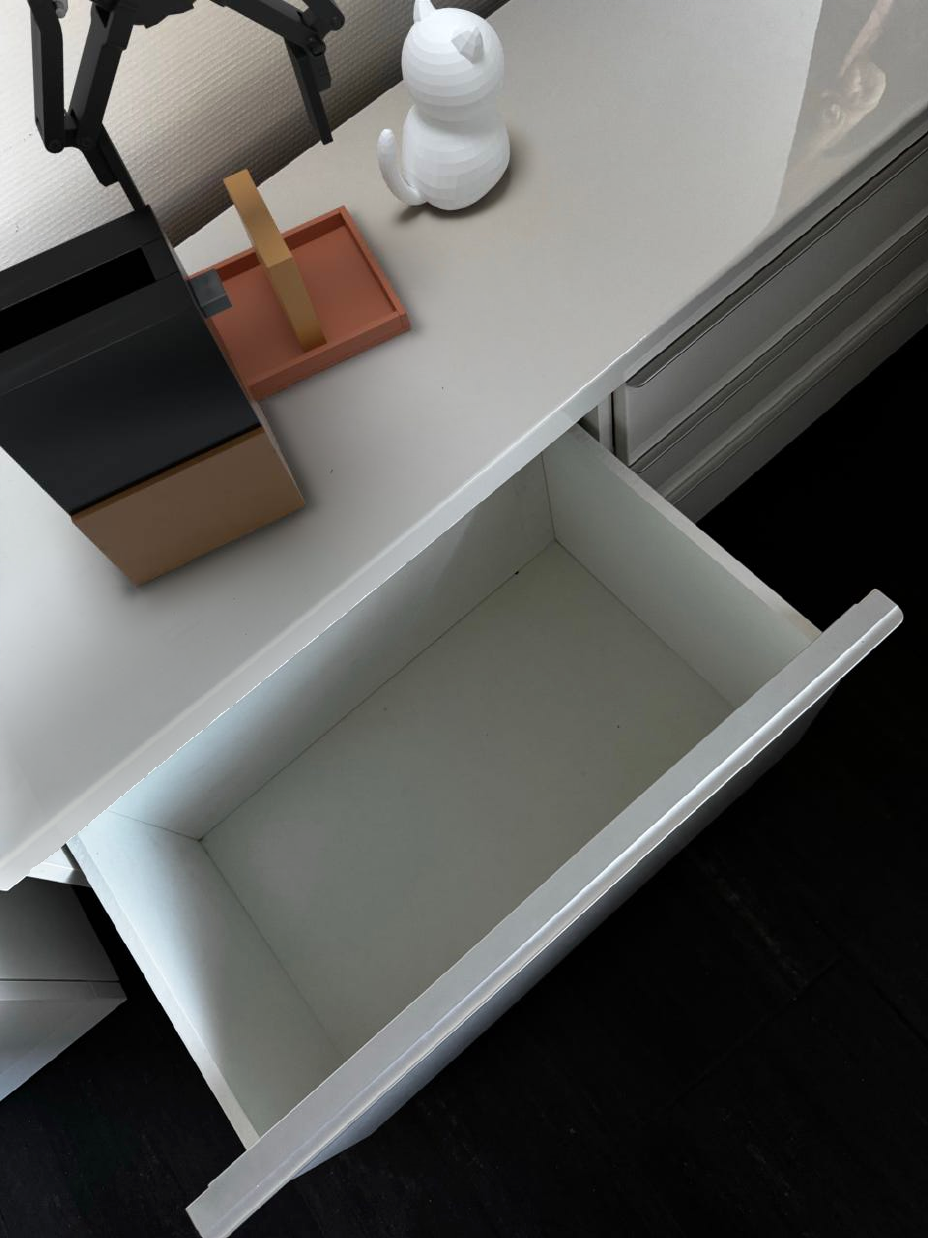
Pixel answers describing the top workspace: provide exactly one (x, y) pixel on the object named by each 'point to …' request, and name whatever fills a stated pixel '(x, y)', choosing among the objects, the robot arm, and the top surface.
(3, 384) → the toaster
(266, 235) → the toast
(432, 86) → the cat figurine
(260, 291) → the tray
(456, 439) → the top surface
